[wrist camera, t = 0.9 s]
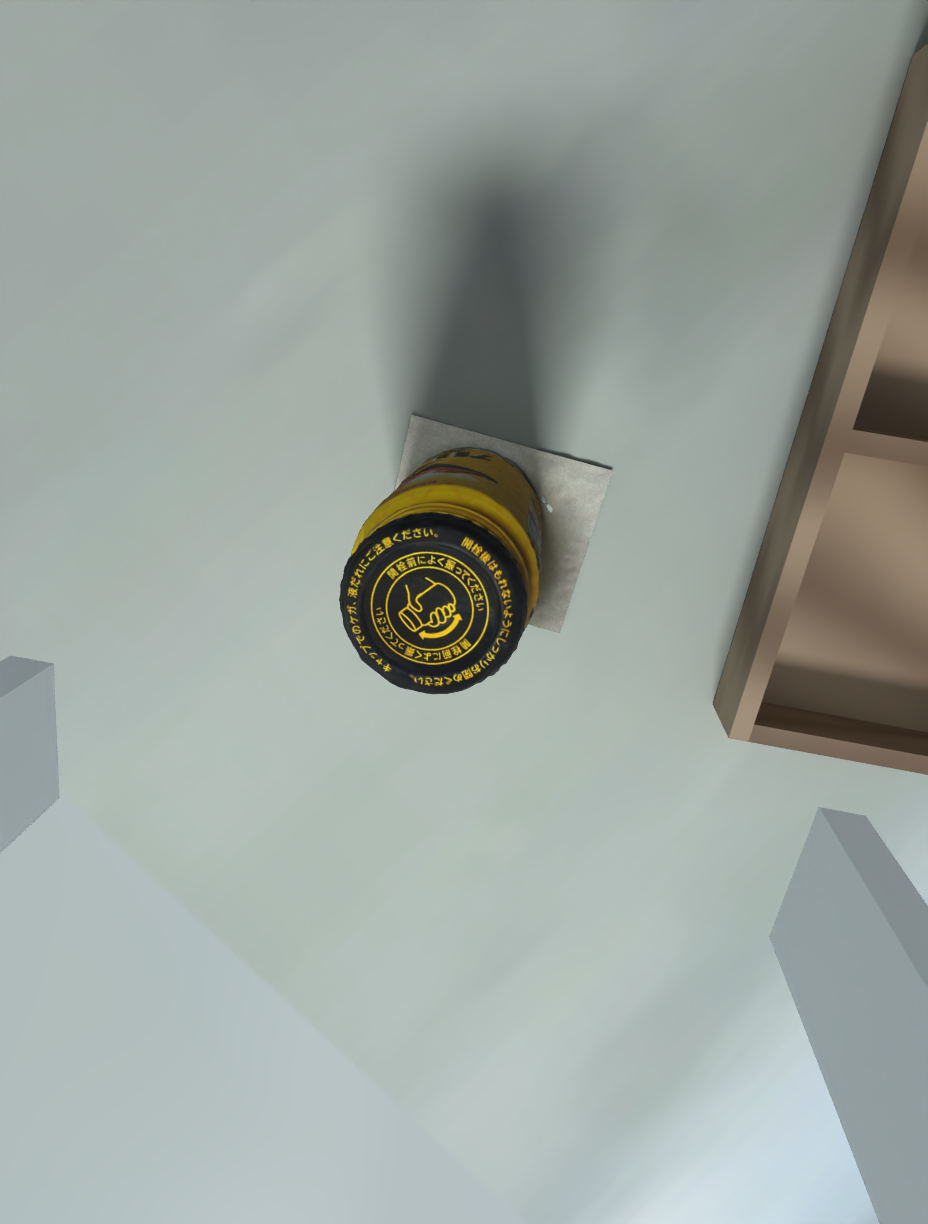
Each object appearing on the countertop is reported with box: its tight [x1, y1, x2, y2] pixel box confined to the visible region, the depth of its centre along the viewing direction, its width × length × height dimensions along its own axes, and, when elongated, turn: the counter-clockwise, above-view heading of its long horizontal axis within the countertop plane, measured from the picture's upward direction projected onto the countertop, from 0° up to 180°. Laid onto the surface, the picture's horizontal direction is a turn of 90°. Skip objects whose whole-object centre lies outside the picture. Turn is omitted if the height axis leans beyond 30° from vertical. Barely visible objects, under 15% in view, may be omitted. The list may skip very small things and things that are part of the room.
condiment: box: [339, 415, 613, 694], centre depth 26 cm, size 7×8×12 cm
